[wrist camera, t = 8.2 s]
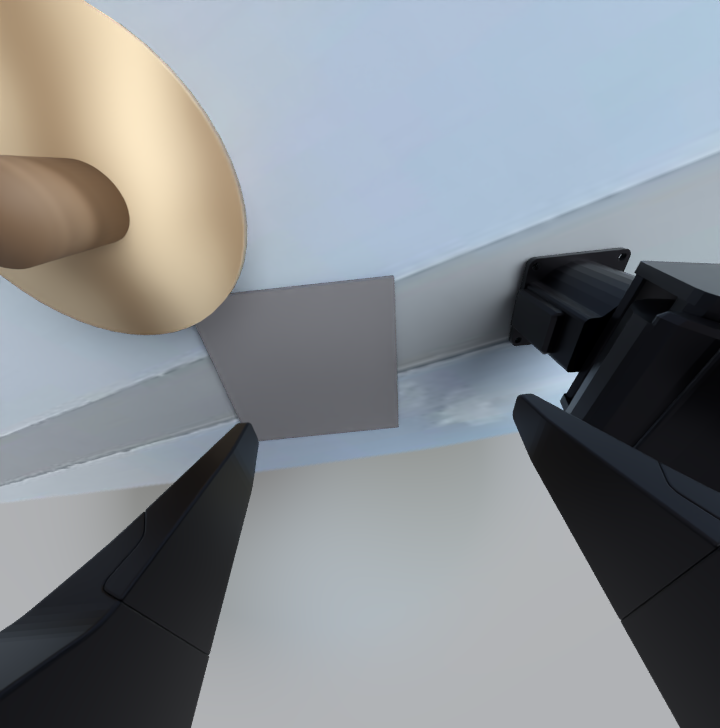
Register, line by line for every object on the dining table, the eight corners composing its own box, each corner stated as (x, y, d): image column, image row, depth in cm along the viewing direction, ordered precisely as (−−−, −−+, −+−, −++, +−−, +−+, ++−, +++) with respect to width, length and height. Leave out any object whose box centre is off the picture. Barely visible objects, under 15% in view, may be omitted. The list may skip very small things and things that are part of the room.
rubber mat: (393, 275, 19) (394, 277, 19) (397, 423, 27) (398, 427, 26) (187, 297, 19) (183, 300, 19) (251, 437, 27) (250, 441, 27)
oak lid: (173, -46, 9) (27, -231, 5) (277, 315, 15) (253, 364, 11) (-200, 7, 9) (-638, -125, 5) (62, 339, 16) (-34, 396, 12)
